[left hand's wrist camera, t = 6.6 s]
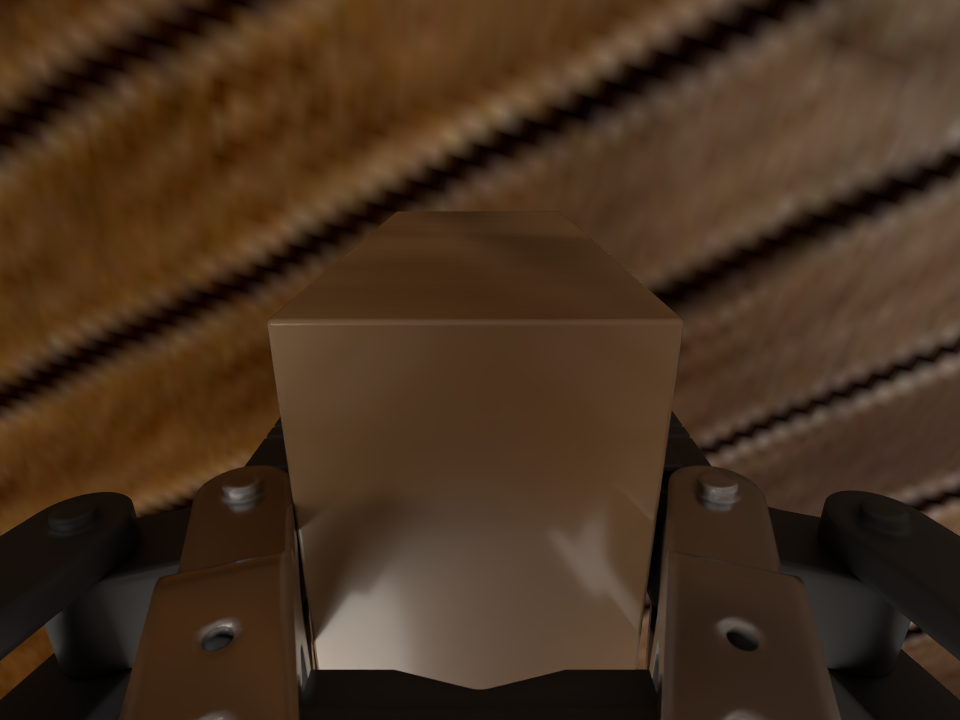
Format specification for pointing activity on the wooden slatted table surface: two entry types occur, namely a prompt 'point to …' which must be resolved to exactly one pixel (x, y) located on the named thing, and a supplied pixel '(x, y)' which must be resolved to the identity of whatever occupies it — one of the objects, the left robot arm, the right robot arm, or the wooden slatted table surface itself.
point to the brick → (476, 447)
